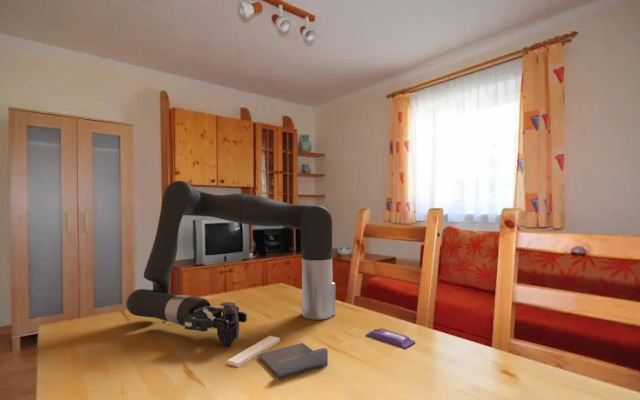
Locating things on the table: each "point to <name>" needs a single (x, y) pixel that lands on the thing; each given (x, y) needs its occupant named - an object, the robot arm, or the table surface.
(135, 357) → the table surface
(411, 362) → the table surface
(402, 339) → the snack package
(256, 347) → the door edge strip
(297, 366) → the plate
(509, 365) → the table surface
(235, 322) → the hand grenade
